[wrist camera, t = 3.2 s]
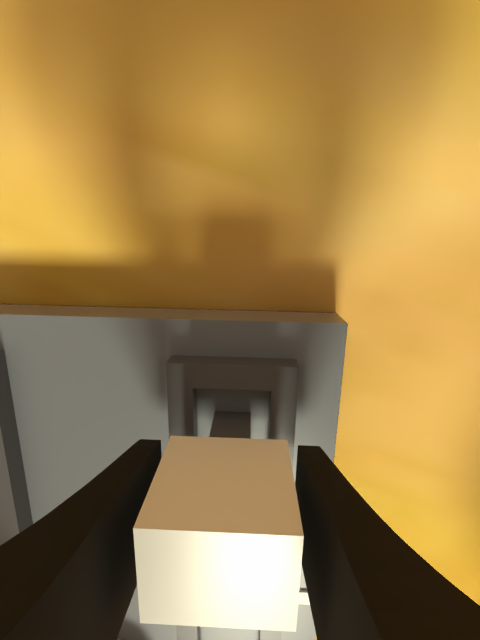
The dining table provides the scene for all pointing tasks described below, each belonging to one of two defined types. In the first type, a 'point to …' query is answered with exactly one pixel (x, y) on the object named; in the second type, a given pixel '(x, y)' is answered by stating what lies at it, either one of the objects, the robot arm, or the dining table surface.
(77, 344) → the console
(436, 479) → the dining table surface
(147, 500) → the block
